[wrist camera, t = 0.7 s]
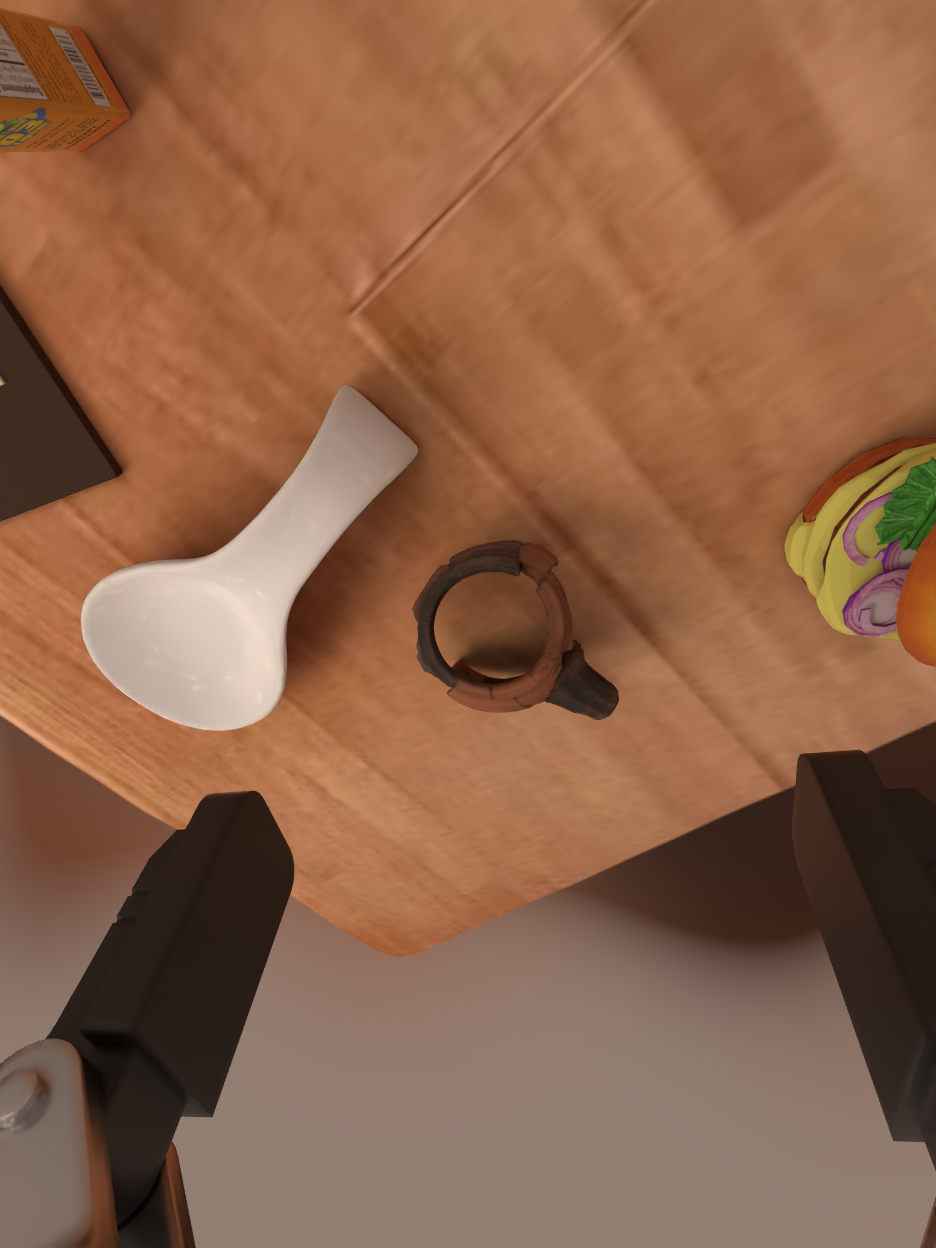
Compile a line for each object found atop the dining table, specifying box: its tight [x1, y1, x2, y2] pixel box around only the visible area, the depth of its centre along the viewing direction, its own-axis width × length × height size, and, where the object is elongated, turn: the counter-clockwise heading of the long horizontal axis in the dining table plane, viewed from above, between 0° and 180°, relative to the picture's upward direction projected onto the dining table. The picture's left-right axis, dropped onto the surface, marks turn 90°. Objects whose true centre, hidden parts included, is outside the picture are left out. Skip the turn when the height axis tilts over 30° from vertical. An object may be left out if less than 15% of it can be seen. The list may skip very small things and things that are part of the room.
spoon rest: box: [81, 385, 418, 731], centre depth 36 cm, size 24×12×7 cm, turn 139°
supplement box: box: [0, 8, 131, 152], centre depth 24 cm, size 3×3×10 cm
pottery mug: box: [412, 540, 619, 720], centre depth 37 cm, size 12×10×8 cm
